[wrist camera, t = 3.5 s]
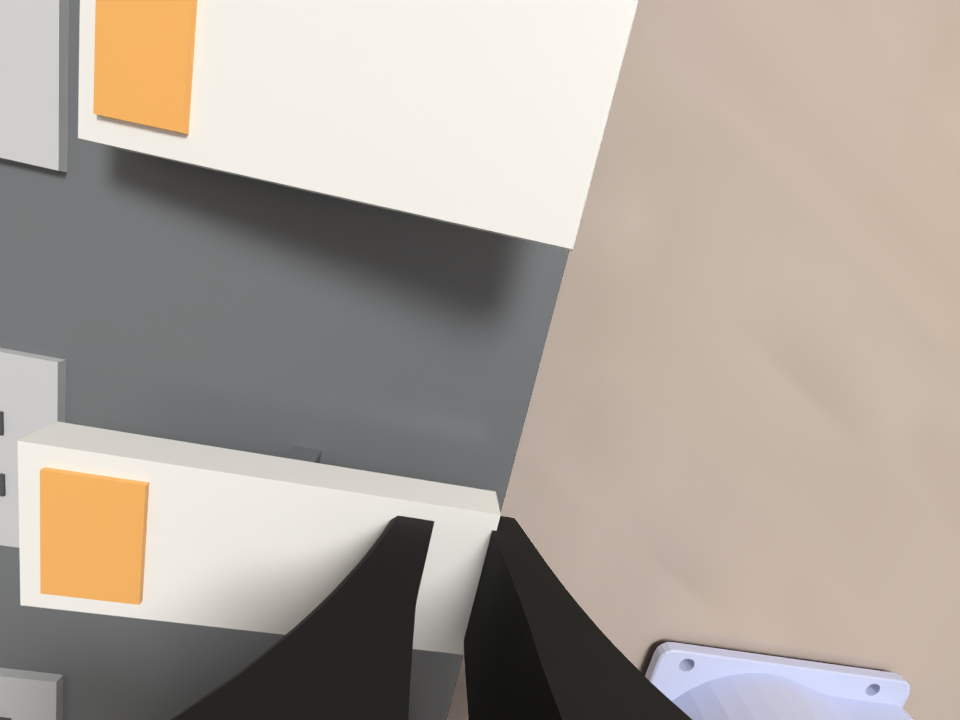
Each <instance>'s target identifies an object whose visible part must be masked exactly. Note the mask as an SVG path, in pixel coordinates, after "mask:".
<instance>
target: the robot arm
mask: <svg viewBox="0 0 960 720" xmlns="http://www.w3.org/2000/svg"><path fill="white" fill-rule="evenodd" d="M433 526H434V521H431V520H424V519H418V518H411V517H405V516H396V517H395V518H393V519H391V520H390V522H389V524H388V525H387V527H386V528H385V529H384V531H383V532H382V534H381V535H380V537H379V538H378V539H377V540H376V542H375V543H374V544H373V546H372V547H371V548H370V549H369V551H368V552H367V553H366V555H365V556H364V557H363V558H362V560H361V561H360V562H359V563H358V564H357V565H356V566H355V567H354V569H353V570H352V571H351V572H350V573H349V574H348V575H347V576H346V577H345V579H344V580H343V581H342V582H341V583H340V584H339V585H338V586H337V587H336V588H335V589H334V590H333V591H332V592H331V593H330V594H329V595H328V596H327V597H326V598H325V599H324V600H323V601H322V602H321V603H320V604H319V605H318V606H317V607H316V608H315V609H314V610H313V611H312V612H311V613H310V614H309V615H307V616H306V617H305V618H304V619H303V620H302V621H301V622H300V623H299V624H298V625H296V626H295V627H294V628H293V629H292V630H291V631H289V632H288V633H287V634H286V635H285V636H283V637H282V638H281V639H280V640H278V641H277V642H276V643H275V644H274V645H272V646H271V647H270V648H269V649H268V650H266V651H265V652H264V653H263V654H262V655H260V656H259V657H258V658H256V659H255V660H254V661H252V662H251V663H250V664H249V665H247V666H246V667H245V668H243V669H242V670H241V671H239V672H238V673H237V674H235V675H234V676H232V677H231V678H229V679H228V680H227V681H225V682H224V683H222V684H221V685H219V686H218V687H217V688H215V689H214V690H212V691H211V692H209V693H208V694H207V695H205V696H204V697H202V698H201V699H199V700H198V701H197V702H195V703H194V704H192V705H191V706H189V707H188V708H186V709H185V710H184V711H182V712H181V713H179V714H178V715H176V716H175V717H173V718H172V719H170V720H408V717H409V696H410V680H411V664H412V649H413V636H414V623H415V610H416V602H417V597H418V593H419V588H420V584H421V579H422V575H423V570H424V566H425V562H426V557H427V553H428V548H429V544H430V539H431V535H432V530H433ZM464 657H465V672H466V686H467V700H468V714H469V720H914V719H913V718H912V717H911V716H910V715H909V714H908V713H907V712H906V711H905V710H904V709H903V708H902V706H903V705H904V703H905V701H906V699H907V698H908V696H909V693H910V685H909V684H908V683H907V682H906V681H905V680H904V679H903V678H902V677H901V676H900V675H899V674H897V673H892V672H885V671H878V670H870V669H863V668H856V667H849V666H841V665H834V664H827V663H820V662H813V661H805V660H798V659H791V658H784V657H776V656H769V655H762V654H755V653H748V652H740V651H733V650H726V649H719V648H711V647H704V646H697V645H690V644H683V643H675V642H666V643H663V644H661V645H659V646H658V647H657V648H656V650H655V652H654V654H653V656H652V659H651V662H650V664H649V667H648V669H647V672H646V675H645V676H644V675H643V674H642V673H641V672H640V671H639V670H638V669H637V668H636V667H635V666H634V665H633V664H632V663H631V662H630V661H629V660H628V659H627V658H626V657H625V656H624V655H623V654H622V653H621V652H620V651H619V650H618V649H617V648H616V647H615V646H614V645H613V644H612V642H611V641H610V640H609V639H608V638H607V637H606V636H605V635H604V634H603V633H602V632H601V630H600V629H599V628H598V627H597V626H596V625H595V623H594V622H593V621H592V620H591V619H590V618H589V616H588V615H587V614H586V613H585V612H584V611H583V609H582V608H581V607H580V606H579V605H578V604H577V602H576V601H575V600H574V599H573V597H572V596H571V595H570V594H569V592H568V591H567V590H566V589H565V587H564V586H563V585H562V583H561V582H560V581H559V580H558V578H557V577H556V576H555V574H554V573H553V572H552V570H551V569H550V567H549V566H548V565H547V563H546V562H545V561H544V559H543V558H542V556H541V555H540V554H539V552H538V551H537V549H536V548H535V547H534V545H533V544H532V542H531V541H530V539H529V538H528V537H527V535H526V534H525V532H524V531H523V529H522V528H521V527H520V525H519V524H518V522H517V521H516V520H515V518H509V517H503V516H500V519H499V523H498V527H497V531H495V530H492V533H491V537H490V541H489V545H488V549H487V553H486V557H485V560H484V564H483V568H482V572H481V576H480V580H479V583H478V587H477V591H476V595H475V599H474V603H473V606H472V610H471V614H470V618H469V622H468V626H467V629H466V633H465V637H464ZM682 660H683V661H682Z"/></svg>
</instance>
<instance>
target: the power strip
mask: <svg viewBox="0 0 960 720" xmlns="http://www.w3.org/2000/svg"><path fill="white" fill-rule="evenodd" d="M79 23H80V0H0V720H170V719H172V718H173V717H175V716H176V715H178V714H179V713H181V712H182V711H184V710H185V709H186V708H188V707H189V706H191V705H192V704H194V703H195V702H197V701H198V700H199V699H201V698H202V697H204V696H205V695H207V694H208V693H209V692H211V691H212V690H214V689H215V688H217V687H218V686H219V685H221V684H222V683H224V682H225V681H227V680H228V679H229V678H231V677H232V676H234V675H235V674H237V673H238V672H239V671H241V670H242V669H243V668H245V667H246V666H247V665H249V664H250V663H251V662H252V661H254V660H255V659H256V658H258V657H259V656H260V655H262V654H263V653H264V652H265V651H266V650H268V649H269V648H270V647H271V646H272V645H274V644H275V643H276V642H277V641H278V640H280V639H281V638H282V637H283V636H285V635H283V634H274V633H265V632H256V631H247V630H238V629H229V628H220V627H211V626H202V625H193V624H184V623H175V622H166V621H157V620H148V619H139V618H130V617H121V616H112V615H103V614H94V613H86V612H77V611H68V610H59V609H50V608H41V607H32V606H23V605H20V553H19V498H18V442H17V441H18V440H20V439H22V438H24V437H26V436H28V435H30V434H32V433H35V432H37V431H39V430H41V429H43V428H45V427H47V426H49V425H51V424H53V423H55V422H64V423H70V424H76V425H82V426H89V427H95V428H101V429H107V430H114V431H120V432H126V433H132V434H139V435H145V436H151V437H158V438H164V439H170V440H176V441H183V442H189V443H195V444H201V445H208V446H214V447H220V448H226V449H233V450H239V451H245V452H251V453H258V454H264V455H270V456H276V457H283V458H289V459H295V460H301V461H308V462H314V463H320V464H327V465H333V466H339V467H345V468H352V469H358V470H364V471H370V472H377V473H383V474H389V475H395V476H402V477H408V478H414V479H420V480H427V481H433V482H439V483H445V484H452V485H458V486H464V487H471V488H477V489H483V490H489V491H496V495H497V500H498V504H499V509H500V513H501V509H502V505H503V502H504V498H505V494H506V490H507V486H508V482H509V479H510V475H511V471H512V467H513V463H514V460H515V456H516V452H517V448H518V444H519V441H520V437H521V433H522V429H523V425H524V422H525V418H526V414H527V410H528V406H529V402H530V399H531V395H532V391H533V387H534V383H535V380H536V376H537V372H538V368H539V364H540V361H541V357H542V353H543V349H544V345H545V341H546V338H547V334H548V330H549V326H550V322H551V319H552V315H553V311H554V307H555V303H556V300H557V296H558V292H559V288H560V284H561V280H562V277H563V273H564V269H565V265H566V261H567V258H568V254H569V250H566V249H561V248H557V247H552V246H548V245H543V244H539V243H535V242H530V241H526V240H521V239H517V238H512V237H508V236H504V235H499V234H495V233H490V232H486V231H481V230H477V229H472V228H468V227H464V226H459V225H455V224H450V223H446V222H441V221H437V220H432V219H428V218H424V217H419V216H415V215H410V214H406V213H401V212H397V211H393V210H388V209H384V208H379V207H375V206H370V205H366V204H361V203H357V202H353V201H348V200H344V199H339V198H335V197H330V196H326V195H321V194H317V193H313V192H308V191H304V190H299V189H295V188H290V187H286V186H282V185H277V184H273V183H268V182H264V181H259V180H255V179H250V178H246V177H242V176H237V175H233V174H228V173H224V172H219V171H215V170H210V169H206V168H202V167H197V166H193V165H188V164H184V163H179V162H175V161H171V160H166V159H162V158H157V157H153V156H148V155H144V154H139V153H135V152H131V151H126V150H122V149H118V148H114V147H110V146H107V145H103V144H99V143H95V142H91V141H87V140H83V139H80V138H78V97H79ZM462 658H463V655H462V654H453V653H444V652H435V651H426V650H417V649H412V664H411V680H410V696H409V717H408V720H446V719H447V715H448V711H449V707H450V704H451V700H452V696H453V692H454V688H455V685H456V681H457V677H458V673H459V669H460V665H461V662H462Z"/></svg>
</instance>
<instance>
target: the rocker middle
mask: <svg viewBox="0 0 960 720" xmlns="http://www.w3.org/2000/svg"><path fill="white" fill-rule="evenodd" d="M17 442H18V498H19V553H20V605H23V606H32V607H41V608H50V609H59V610H68V611H77V612H86V613H94V614H103V615H112V616H121V617H130V618H139V619H148V620H157V621H166V622H175V623H184V624H193V625H202V626H211V627H220V628H229V629H238V630H247V631H256V632H265V633H274V634H283V635H286V634H287V633H288V632H289V631H291V630H292V629H293V628H294V627H295V626H296V625H298V624H299V623H300V622H301V621H302V620H303V619H304V618H305V617H306V616H307V615H309V614H310V613H311V612H312V611H313V610H314V609H315V608H316V607H317V606H318V605H319V604H320V603H321V602H322V601H323V600H324V599H325V598H326V597H327V596H328V595H329V594H330V593H331V592H332V591H333V590H334V589H335V588H336V587H337V586H338V585H339V584H340V583H341V582H342V581H343V580H344V579H345V577H346V576H347V575H348V574H349V573H350V572H351V571H352V570H353V569H354V567H355V566H356V565H357V564H358V563H359V562H360V561H361V560H362V558H363V557H364V556H365V555H366V553H367V552H368V551H369V549H370V548H371V547H372V546H373V544H374V543H375V542H376V540H377V539H378V538H379V537H380V535H381V534H382V532H383V531H384V529H385V528H386V527H387V525H388V524H389V522H390V520H391V519H393V518H395V517H396V516H405V517H411V518H418V519H424V520H431V521H434V526H433V530H432V535H431V539H430V544H429V548H428V553H427V557H426V562H425V566H424V570H423V575H422V579H421V584H420V588H419V593H418V597H417V602H416V610H415V623H414V636H413V649H417V650H426V651H435V652H444V653H453V654H462V655H464V637H465V633H466V629H467V626H468V622H469V618H470V614H471V610H472V606H473V603H474V599H475V595H476V591H477V587H478V583H479V580H480V576H481V572H482V568H483V564H484V560H485V557H486V553H487V549H488V545H489V541H490V537H491V533H492V530H495V531H497V527H498V523H499V519H500V516H501V514H500V509H499V504H498V500H497V495H496V491H489V490H483V489H477V488H471V487H464V486H458V485H452V484H445V483H439V482H433V481H427V480H420V479H414V478H408V477H402V476H395V475H389V474H383V473H377V472H370V471H364V470H358V469H352V468H345V467H339V466H333V465H327V464H320V463H314V462H308V461H301V460H295V459H289V458H283V457H276V456H270V455H264V454H258V453H251V452H245V451H239V450H233V449H226V448H220V447H214V446H208V445H201V444H195V443H189V442H183V441H176V440H170V439H164V438H158V437H151V436H145V435H139V434H132V433H126V432H120V431H114V430H107V429H101V428H95V427H89V426H82V425H76V424H70V423H64V422H55V423H53V424H51V425H49V426H47V427H45V428H43V429H41V430H39V431H37V432H35V433H32V434H30V435H28V436H26V437H24V438H22V439H20V440H18V441H17Z"/></svg>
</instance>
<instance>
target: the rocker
mask: <svg viewBox="0 0 960 720" xmlns="http://www.w3.org/2000/svg"><path fill="white" fill-rule="evenodd" d="M638 1H639V0H80V23H79V97H78V138H80V139H83V140H87V141H91V142H95V143H99V144H103V145H107V146H110V147H114V148H118V149H122V150H126V151H131V152H135V153H139V154H144V155H148V156H153V157H157V158H162V159H166V160H171V161H175V162H179V163H184V164H188V165H193V166H197V167H202V168H206V169H210V170H215V171H219V172H224V173H228V174H233V175H237V176H242V177H246V178H250V179H255V180H259V181H264V182H268V183H273V184H277V185H282V186H286V187H290V188H295V189H299V190H304V191H308V192H313V193H317V194H321V195H326V196H330V197H335V198H339V199H344V200H348V201H353V202H357V203H361V204H366V205H370V206H375V207H379V208H384V209H388V210H393V211H397V212H401V213H406V214H410V215H415V216H419V217H424V218H428V219H432V220H437V221H441V222H446V223H450V224H455V225H459V226H464V227H468V228H472V229H477V230H481V231H486V232H490V233H495V234H499V235H504V236H508V237H512V238H517V239H521V240H526V241H530V242H535V243H539V244H543V245H548V246H552V247H557V248H561V249H566V250H570V251H573V248H574V245H575V241H576V237H577V233H578V229H579V226H580V222H581V218H582V214H583V210H584V207H585V203H586V199H587V195H588V192H589V188H590V184H591V180H592V176H593V173H594V169H595V165H596V161H597V157H598V154H599V150H600V146H601V142H602V139H603V135H604V131H605V127H606V123H607V120H608V116H609V112H610V108H611V104H612V101H613V97H614V93H615V89H616V86H617V82H618V78H619V74H620V70H621V67H622V63H623V59H624V55H625V51H626V48H627V44H628V40H629V36H630V33H631V29H632V25H633V21H634V17H635V14H636V9H637V5H638Z"/></svg>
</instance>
